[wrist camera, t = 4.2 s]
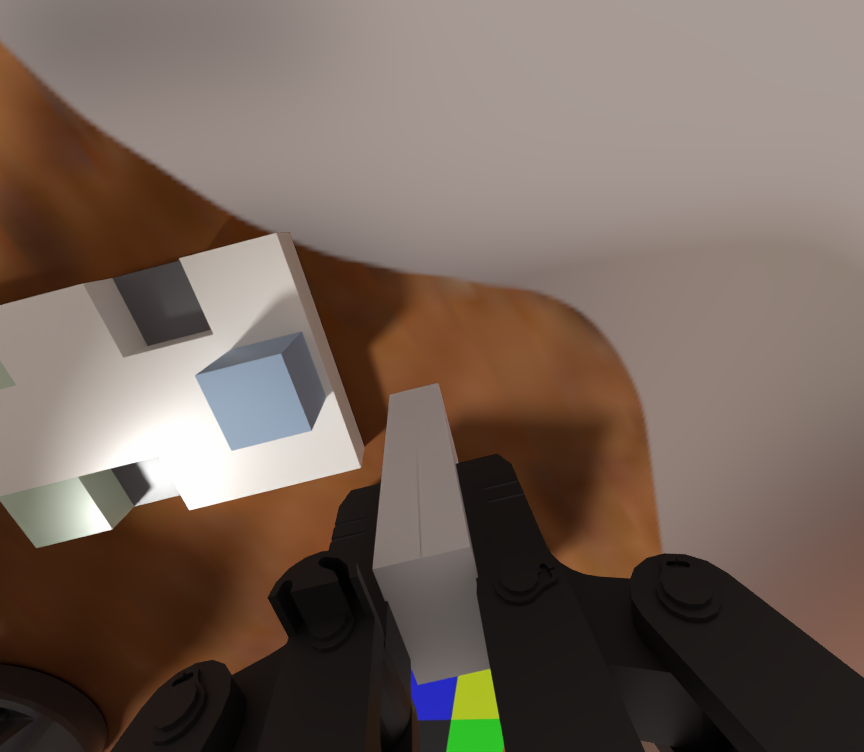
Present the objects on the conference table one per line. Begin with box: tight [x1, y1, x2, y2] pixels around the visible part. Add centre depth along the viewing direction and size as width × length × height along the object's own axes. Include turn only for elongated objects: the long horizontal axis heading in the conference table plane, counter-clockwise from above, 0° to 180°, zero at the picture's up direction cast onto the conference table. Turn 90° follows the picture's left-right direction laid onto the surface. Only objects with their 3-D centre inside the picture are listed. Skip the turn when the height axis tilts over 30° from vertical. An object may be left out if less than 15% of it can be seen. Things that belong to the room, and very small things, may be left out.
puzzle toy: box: [411, 669, 504, 752], centre depth 26 cm, size 10×10×10 cm
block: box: [195, 331, 326, 451], centre depth 21 cm, size 4×4×4 cm
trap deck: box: [0, 232, 364, 548], centre depth 24 cm, size 21×14×2 cm, turn 104°
